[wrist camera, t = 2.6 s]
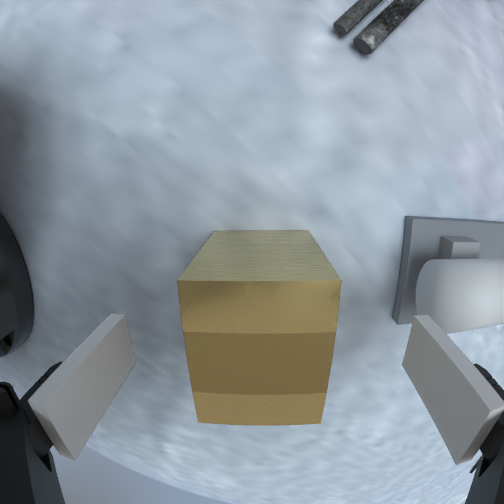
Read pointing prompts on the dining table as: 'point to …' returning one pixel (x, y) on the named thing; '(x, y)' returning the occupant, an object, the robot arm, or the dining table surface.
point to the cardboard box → (259, 327)
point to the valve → (374, 21)
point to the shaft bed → (427, 251)
